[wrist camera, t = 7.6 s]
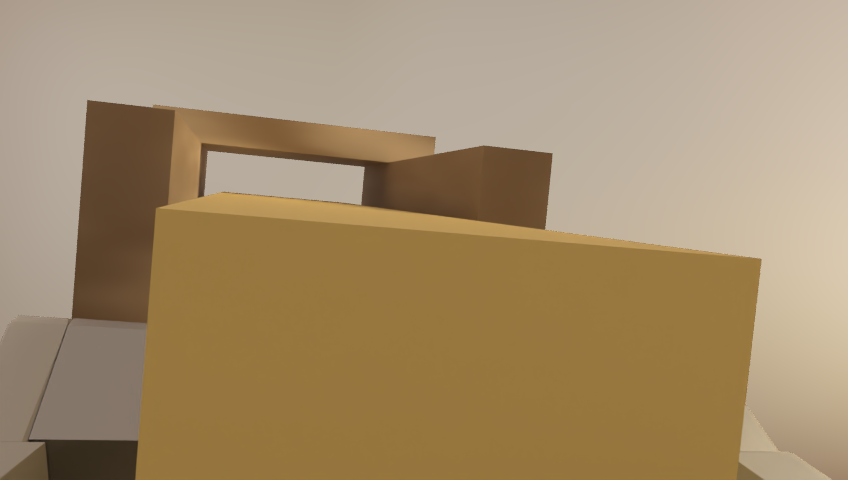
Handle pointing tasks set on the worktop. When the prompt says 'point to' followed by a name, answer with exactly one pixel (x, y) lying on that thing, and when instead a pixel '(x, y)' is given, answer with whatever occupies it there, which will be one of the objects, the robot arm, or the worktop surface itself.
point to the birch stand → (214, 131)
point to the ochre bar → (434, 349)
